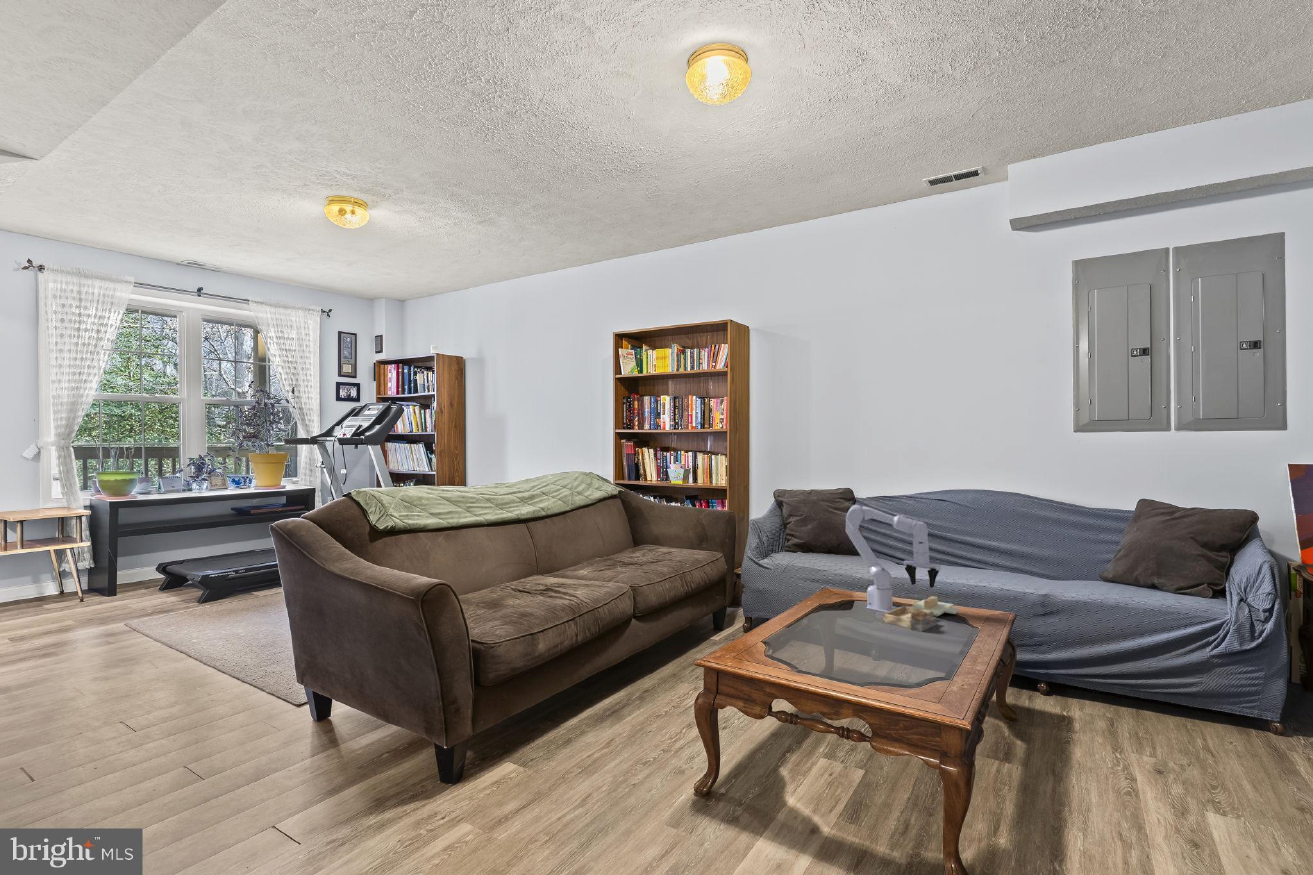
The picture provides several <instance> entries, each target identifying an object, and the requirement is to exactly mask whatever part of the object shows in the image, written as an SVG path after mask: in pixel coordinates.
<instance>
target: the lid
mask: <svg viewBox="0 0 1313 875" xmlns="http://www.w3.org/2000/svg"><path fill="white" fill-rule="evenodd" d="M938 599H939V597H938V596H933V595H931V596H929V597H928V598H926V599H922V600H920V601H918V602H917V603H916V602H915V604H913V605H911V606H910V607H913V608H918V609H923V610H928V611H933V617H936V618H937V617H939V616H941V615H943V614H944V613H946V614H953V615H955V614H957V613H959V612H960V608H957V607H955V606H954V603H949V602H948V603H947V602H942V601H939V600H938ZM954 607H955V608H954Z"/></svg>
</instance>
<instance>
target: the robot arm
mask: <svg viewBox="0 0 1313 875" xmlns="http://www.w3.org/2000/svg"><path fill="white" fill-rule="evenodd" d="M863 519H864V521H865V520H866V521H867V520H871V519H873V520H877V521H881V522H883V523H887V524H890V525H892V526H893V528H894V529H895V530H898V531H901V532H904V533H906V534H913V539H912V551H913V560H903V566H904V570H905V571H906V573H907V575H908V577H909V580H910V583H911V585H913V586H915V585H916V584H917V578H916V575H917V574H916V573H917V568H920V569H928V570H927V575H928V579H929V581H928V582H929V588H931V589H932V588H934V587H935V583H936V579H937V577H938V574H939V572H940V570H941V569H942V568H941V567H942V566H941V564H938V563H933V562H930V551H929V550H930V549H929V546H930V545H929V540H928V538H929V537H928V534H929V530H928V525H927V524H926V523H925V522H923V521H922V520H918V519H916V518H914V519H912V518H908V517H906V515H905V514H897V515H895V516H893V515H890V514H887V513H885V512H883V511H880V510H877V509H874V508H871V507H869V506H864V505H860V504H853V505H851V506H850V508H849V509H848V511H847V514H846V515H845V533H846V534H847V536H848V538H849V540H851V542H852V544H853V546H854V547H855V549H856V550H857V552H858V553H859V555H860V557H861V558H862V560H863V562H864V563H865V564H866V566H867V567H868V570H869V571H870V574H871V576H872V578H873V583H874V584H873V585H869V586H868V587H867V590H866V600H867V601H866V603H867V606H866V608H867V609H870V610H874V611H878V612H882V611H883V613H886V612H889V611H891V610H894V609H896V608H898V607H897V606H894V605H893V586H892V585H891V579H892V578H891V577H892V575H891V573H890V572H889V571H888V570H887V569H886V568H885V567H884V566H883V564H881V563H880V562H879V560H878V559H877V557H876V555H875V554H874V552H873V551H872V549H871V547H870V545H869V544H868V543H867V541H866V539H865V538H864V536H863V535H862V533H861V532H860V530H859V528H860V525H861V522H862V521H863Z"/></svg>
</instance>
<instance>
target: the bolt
mask: <svg viewBox="0 0 1313 875" xmlns="http://www.w3.org/2000/svg"><path fill="white" fill-rule="evenodd" d="M911 618H912V619H916V620H921V621H922V620H925V619H927V612H923V611H918V610H916V611H914V612H911Z"/></svg>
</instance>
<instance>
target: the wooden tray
mask: <svg viewBox="0 0 1313 875" xmlns="http://www.w3.org/2000/svg"><path fill="white" fill-rule="evenodd" d="M916 610H918V611H923V612H927V619H925V620H922V621H921V620H916V619H912V618H911V612H914V611H916ZM937 620H938V619H937V617H936V616H933V611H928V610H923V609H918V608H913V607H911V606H907V605H902V606H899V607H897V608H896V609H894V610H891V611H889V612H883V613H882V623H886V624H891V625H894V626H899V627H902V628H903V627H904V628H907V629H910V630H911V631H917V632H921V633H922V632H925V631H927V630H929V629H931V628H933V627H935V626H937Z"/></svg>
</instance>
